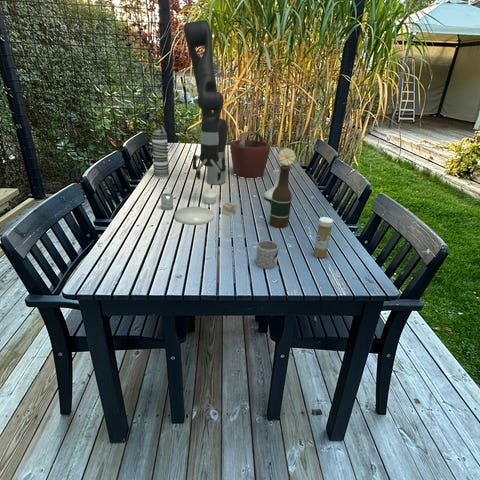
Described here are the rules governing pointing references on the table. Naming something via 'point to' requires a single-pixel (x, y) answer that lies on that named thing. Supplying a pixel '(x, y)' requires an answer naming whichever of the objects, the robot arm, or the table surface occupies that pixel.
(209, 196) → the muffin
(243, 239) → the table surface
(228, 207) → the brass block
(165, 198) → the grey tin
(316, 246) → the sprinkles bottle
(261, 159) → the brown flower pot
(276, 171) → the flower in vase
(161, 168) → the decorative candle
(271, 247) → the mug
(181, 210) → the white bowl
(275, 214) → the beer bottle
